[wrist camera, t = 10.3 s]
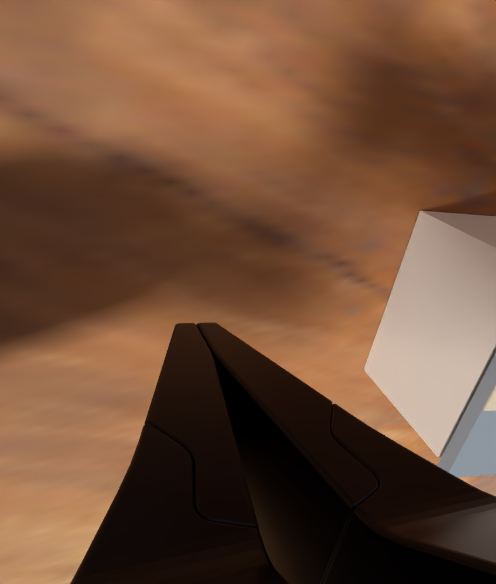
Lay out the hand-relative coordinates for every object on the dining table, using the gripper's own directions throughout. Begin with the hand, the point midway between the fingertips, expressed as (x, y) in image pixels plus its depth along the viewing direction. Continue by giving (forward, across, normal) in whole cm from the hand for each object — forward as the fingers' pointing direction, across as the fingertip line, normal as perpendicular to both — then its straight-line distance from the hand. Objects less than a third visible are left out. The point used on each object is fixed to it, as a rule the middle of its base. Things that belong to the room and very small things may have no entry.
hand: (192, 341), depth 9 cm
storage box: (+13, -20, +6) cm, 25 cm away
